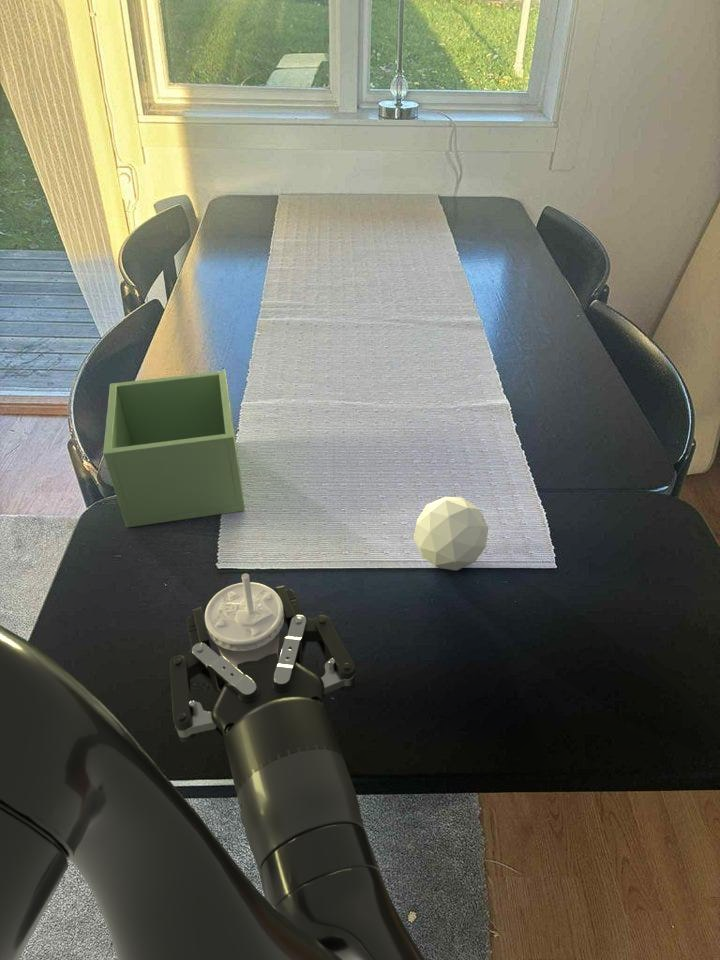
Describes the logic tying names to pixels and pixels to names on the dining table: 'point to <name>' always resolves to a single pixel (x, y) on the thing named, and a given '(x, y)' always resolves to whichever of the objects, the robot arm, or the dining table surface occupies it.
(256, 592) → the smoothie
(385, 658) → the dining table surface
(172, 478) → the trash bin
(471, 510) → the geometric ball
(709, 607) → the dining table surface
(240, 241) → the dining table surface
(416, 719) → the dining table surface
